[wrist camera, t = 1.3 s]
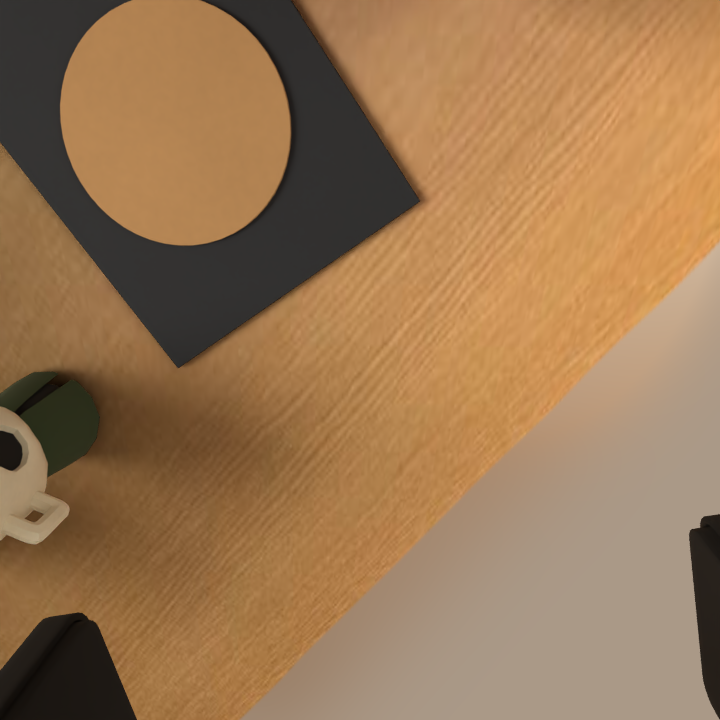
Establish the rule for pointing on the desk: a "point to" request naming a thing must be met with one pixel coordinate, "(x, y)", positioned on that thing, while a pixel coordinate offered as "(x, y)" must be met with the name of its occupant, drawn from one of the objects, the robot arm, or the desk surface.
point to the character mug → (40, 450)
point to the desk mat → (192, 151)
